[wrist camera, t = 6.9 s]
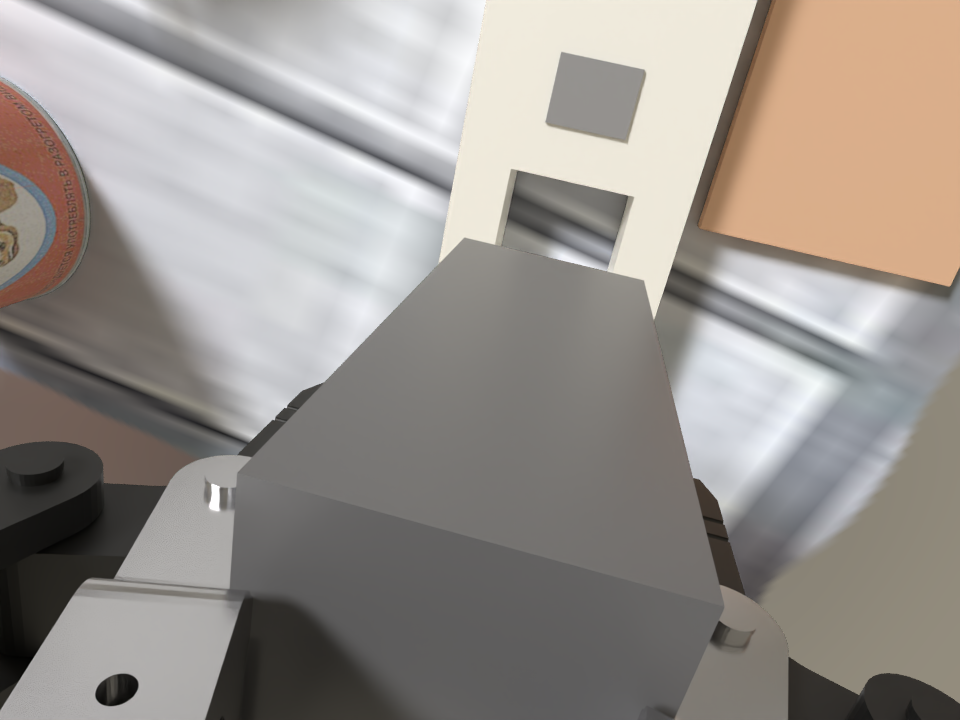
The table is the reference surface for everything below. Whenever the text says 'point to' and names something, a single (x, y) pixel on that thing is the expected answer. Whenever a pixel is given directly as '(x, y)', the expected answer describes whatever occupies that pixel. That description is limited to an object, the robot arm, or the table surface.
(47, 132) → the canned food
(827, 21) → the mat
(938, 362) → the table surface
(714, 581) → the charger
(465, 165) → the power strip
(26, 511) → the robot arm
